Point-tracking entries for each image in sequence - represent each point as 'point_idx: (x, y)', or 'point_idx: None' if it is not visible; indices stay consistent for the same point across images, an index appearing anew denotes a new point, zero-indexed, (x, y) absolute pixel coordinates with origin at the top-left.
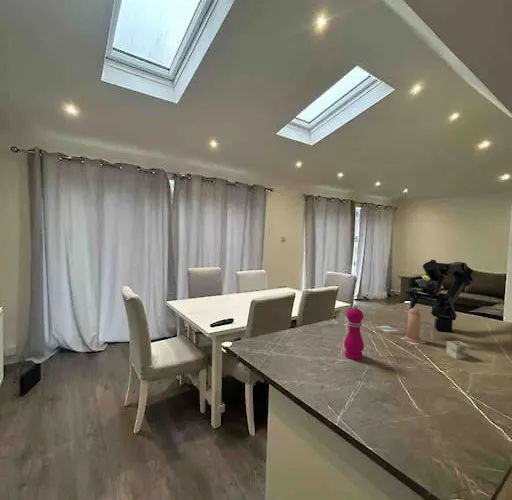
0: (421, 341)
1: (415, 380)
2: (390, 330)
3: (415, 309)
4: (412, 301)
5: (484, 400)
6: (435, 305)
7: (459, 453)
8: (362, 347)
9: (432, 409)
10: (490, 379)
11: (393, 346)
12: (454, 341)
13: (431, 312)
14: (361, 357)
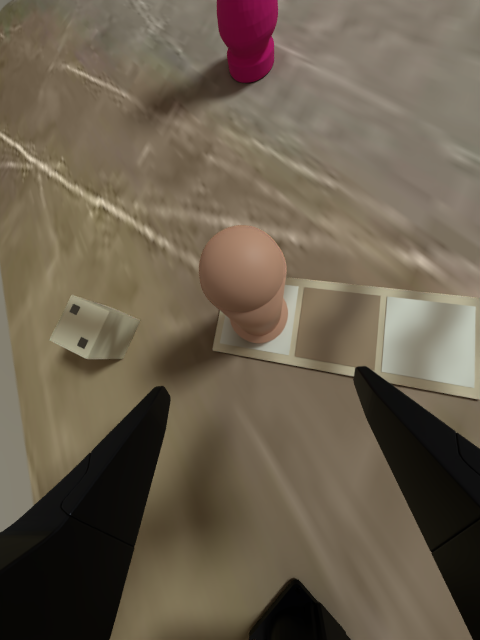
0: (235, 334)
1: (107, 120)
2: (394, 332)
3: (214, 243)
4: (424, 439)
5: (14, 175)
6: (92, 466)
7: (6, 54)
8: (218, 25)
9: (52, 83)
10: (25, 265)
11: (253, 210)
12: (93, 335)
13: (157, 389)
14: (230, 71)
